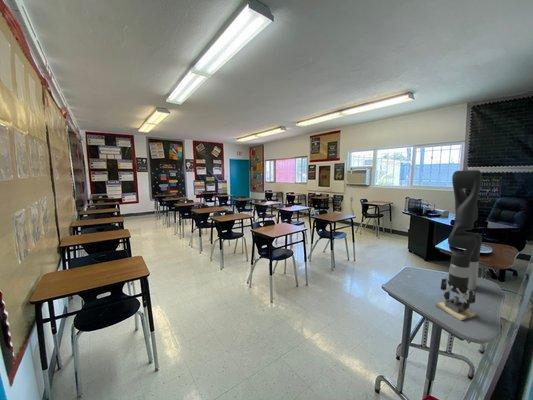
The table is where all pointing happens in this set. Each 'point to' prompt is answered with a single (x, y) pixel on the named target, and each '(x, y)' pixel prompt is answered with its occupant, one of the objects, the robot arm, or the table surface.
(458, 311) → the link
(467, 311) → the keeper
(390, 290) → the table surface
